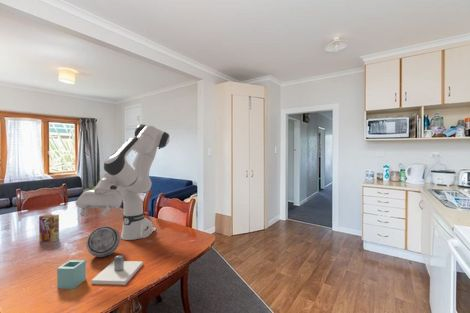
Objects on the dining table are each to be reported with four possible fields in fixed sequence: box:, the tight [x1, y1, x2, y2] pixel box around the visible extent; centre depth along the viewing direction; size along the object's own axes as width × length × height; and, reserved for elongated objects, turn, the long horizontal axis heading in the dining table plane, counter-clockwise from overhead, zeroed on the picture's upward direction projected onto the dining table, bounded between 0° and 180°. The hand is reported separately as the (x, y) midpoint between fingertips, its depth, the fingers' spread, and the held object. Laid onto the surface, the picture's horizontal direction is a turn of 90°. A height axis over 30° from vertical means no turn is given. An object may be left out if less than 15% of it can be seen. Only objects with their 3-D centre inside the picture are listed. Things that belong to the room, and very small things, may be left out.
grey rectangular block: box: [113, 255, 125, 271], centre depth 98 cm, size 2×3×6 cm, turn 88°
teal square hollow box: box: [56, 259, 87, 290], centre depth 90 cm, size 7×7×8 cm
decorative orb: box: [86, 225, 121, 258], centre depth 115 cm, size 15×14×15 cm
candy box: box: [38, 214, 60, 243], centre depth 133 cm, size 9×4×15 cm, turn 89°
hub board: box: [90, 260, 144, 286], centre depth 98 cm, size 16×14×2 cm
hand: (92, 215), depth 102 cm, fingers open, 8 cm apart
